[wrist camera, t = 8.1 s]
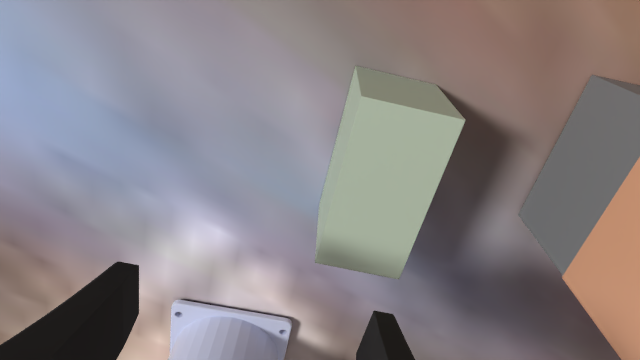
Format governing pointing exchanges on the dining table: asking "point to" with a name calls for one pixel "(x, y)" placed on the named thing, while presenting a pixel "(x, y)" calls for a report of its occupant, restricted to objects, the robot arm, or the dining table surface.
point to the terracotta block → (613, 270)
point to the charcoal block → (584, 168)
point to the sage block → (384, 171)
